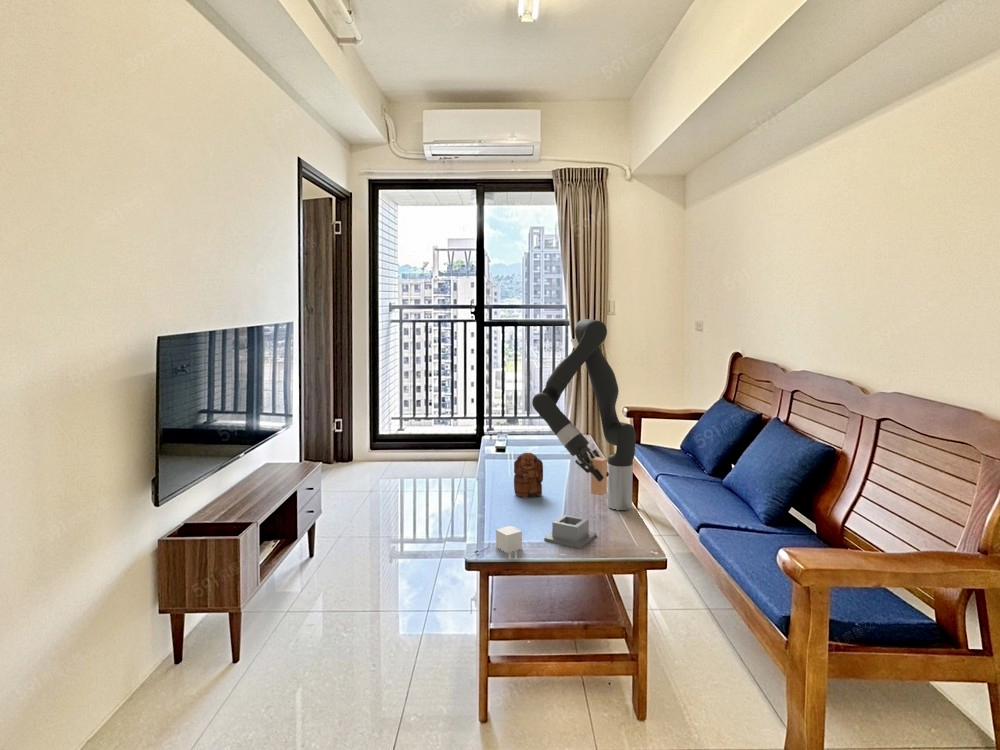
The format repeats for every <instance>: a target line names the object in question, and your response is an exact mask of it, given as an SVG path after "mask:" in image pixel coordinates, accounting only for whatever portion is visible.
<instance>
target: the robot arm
mask: <svg viewBox="0 0 1000 750" xmlns="http://www.w3.org/2000/svg"><path fill="white" fill-rule="evenodd" d="M607 335H608V329H607V326H606V324H605V323H604V322H603V321H600V320H597V319H591V318H583V319H580V320H579V321H578V322H577V324H576V326H575V329H574V336H575V339H576V341H577V346H576V347H575V348H574V349H573V350H572V352H570V353H569V354H568V355H567V356H566V357H565V358H564V359H562V360H561V361H560V363H559V364H557V366H556V367H554V370H553V371H552V373H551V374H550V376H549V377H548V378H547V380H546V383H545V387H544V389H543V390H542V391H541V392H539V393H537V394H535V395H534V396H533V398H532V402H531V403H532V404H531V405H532V407H533V409H534V411H536V413H537V414H538V415H539V416H540V417H541V418H542V419H543V420H544V421H545V422H546V424H547V425H548V427H549V429H550V430H551V431H552V433H553V434H554V435H555V436H556V437H557V439H558V440H559V442H560V443H561V445H562V446H563V447H564V448H565V449H566V450H567V452H568V453H569V454H570V455H571V457H575V456H576V458H577V459H575V461H574V462H575V464H577V465H578V466H579V467H580V468H581V469H582V470H583V471H584V472H585V473H586V474H591V473H592V474H593V475H594V476H595V477H596V479H597V480H598V481H601V480H602V479H604V477H603V475H602V474H601V473H600V472H599V471H598V469H597V468H596V467H595V465H594V464H593V461H592V460H591V459H593V458H595V457H601V455H600V453H599V452H598V451H597V449H593V450H591V448H590V447H589V446H588V445H589V443H590V442H589V441H588V439H587V438H586V437H585V436H584V435H583V433H582V432H581V431H580V430H579V429H578V427H577V426H576V425H574V424H573V422H572V421H571V420H570V418H568V417H567V415H565V414H564V412H563V411H562V410H561V409H560V408H559V406H558V405H557V404H558V401H559V400H560V398H561V395H562V393H563V392H564V391H565V390H566V388H567V387H568V385H569V383H570V382H571V380H572V379H573V377H574V376H575V375H576V373H577V372H578V371H579V369H580V368H581V367H582V366H583V365H584V363H585V366H586V369H587V372H588V376H589V380H590V384H591V387H592V391H593V394H594V397H595V400H596V403H597V407H598V410H599V416H600V420H601V421H600V422H601V426H602V432H603V436H604V439H605V441H606V442H607V443H608V444H610V445H611V446H612V445H613V446H616V450H615V453H613V454H610V455H609V456H608V458H607V507H608V509H610V508H612V509H611V510H613V509H616V510H615V511H619V510H625V511H630V510H631V509H632V507H633V467H634V466H633V465H634V464H633V463H634V458H635V455H636V444H637V443H636V441H637V439H636V438H637V436H636V435H637V434H636V429H635V427H634V426H633V425H632V424H630V423H625V422H621V421H620V420H619V417H618V415H617V410H616V404H617V400H618V396H619V390H620V389H619V385H618V381H617V378H616V374H615V372H614V370H613V368H612V366H611V365H610V364H609V362H608V360H607V359H606V357H605V356H604V354H603V353H602V349H601V345H602V344H603V343H604V341H605V339H606V337H607ZM596 469H597V470H596ZM629 509H630V510H629Z"/></svg>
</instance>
